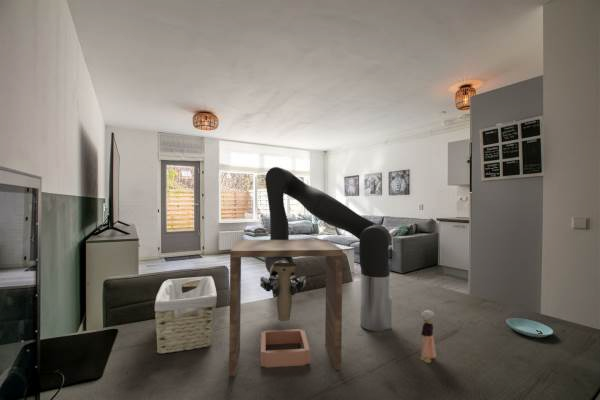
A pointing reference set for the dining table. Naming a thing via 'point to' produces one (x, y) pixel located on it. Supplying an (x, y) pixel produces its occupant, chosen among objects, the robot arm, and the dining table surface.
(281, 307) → the handle
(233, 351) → the wooden footstool
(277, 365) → the socket
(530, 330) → the saucer
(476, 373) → the dining table surface
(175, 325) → the storage basket
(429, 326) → the grandmother figurine
